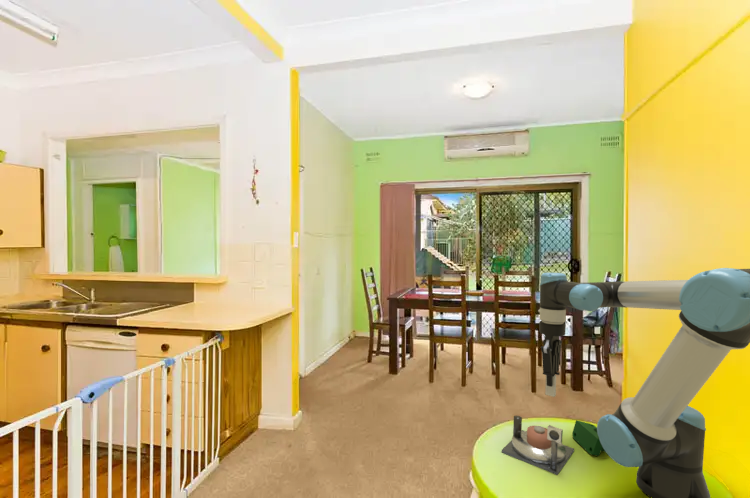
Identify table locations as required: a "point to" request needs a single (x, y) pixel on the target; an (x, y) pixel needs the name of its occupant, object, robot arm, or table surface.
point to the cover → (538, 437)
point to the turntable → (529, 451)
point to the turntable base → (540, 465)
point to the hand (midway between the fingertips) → (550, 395)
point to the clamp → (587, 437)
